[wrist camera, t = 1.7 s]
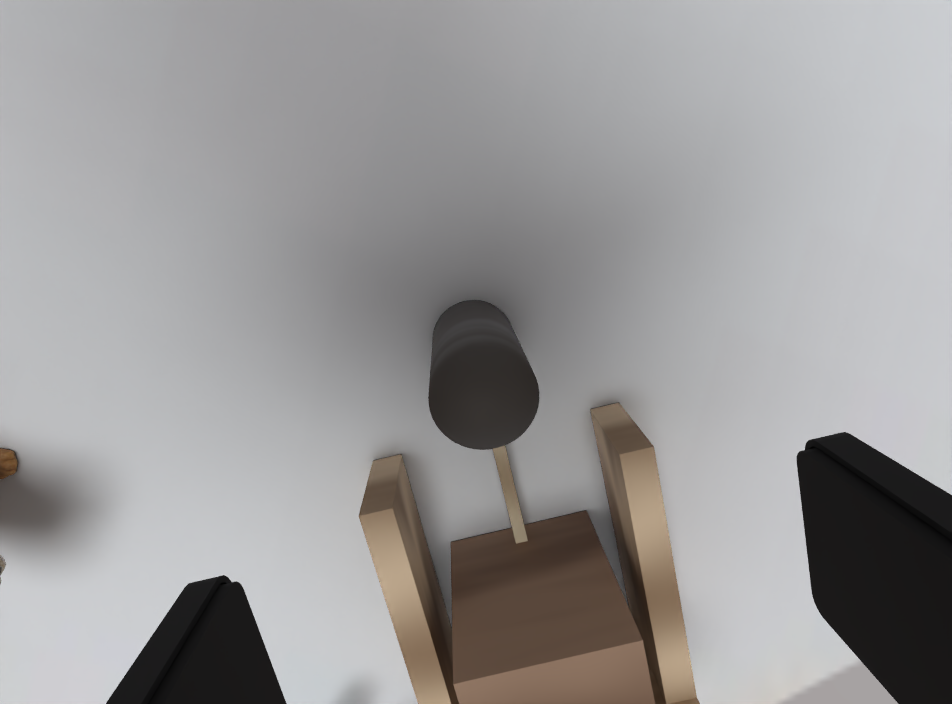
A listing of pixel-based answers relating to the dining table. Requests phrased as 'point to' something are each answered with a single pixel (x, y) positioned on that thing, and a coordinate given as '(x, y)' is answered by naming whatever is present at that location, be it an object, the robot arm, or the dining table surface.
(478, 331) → the wooden lever toy
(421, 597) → the wooden stand
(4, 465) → the lion figurine
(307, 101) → the dining table surface
